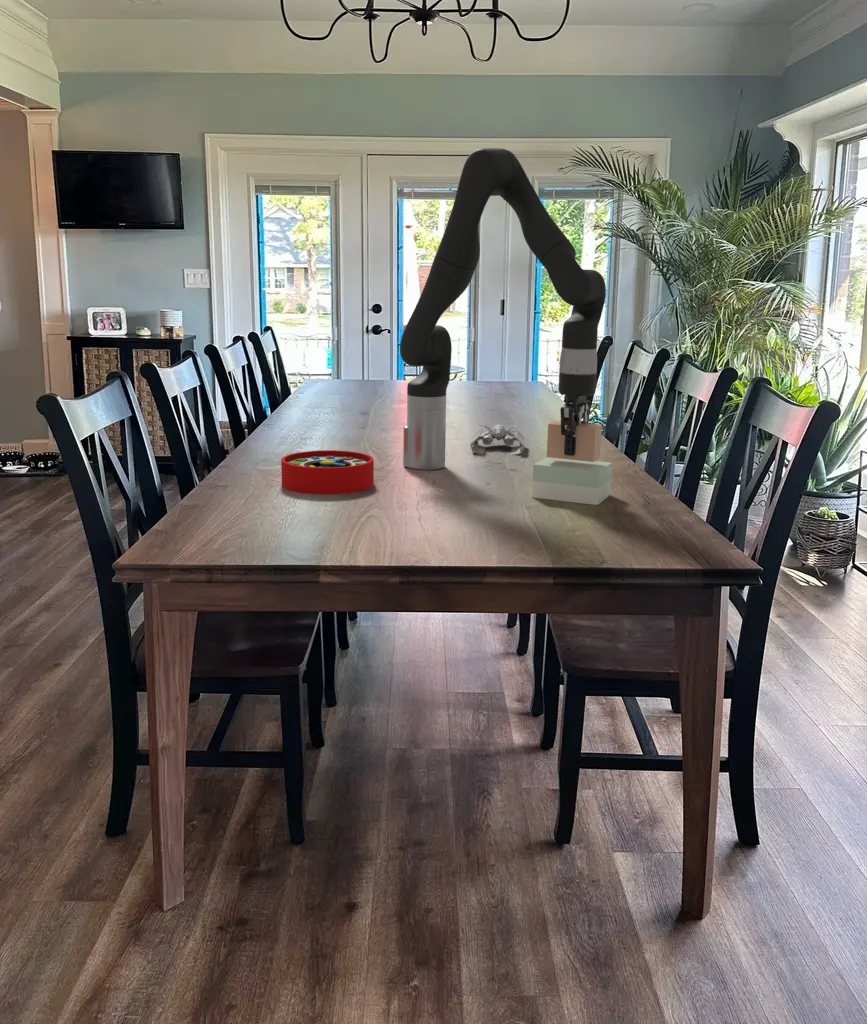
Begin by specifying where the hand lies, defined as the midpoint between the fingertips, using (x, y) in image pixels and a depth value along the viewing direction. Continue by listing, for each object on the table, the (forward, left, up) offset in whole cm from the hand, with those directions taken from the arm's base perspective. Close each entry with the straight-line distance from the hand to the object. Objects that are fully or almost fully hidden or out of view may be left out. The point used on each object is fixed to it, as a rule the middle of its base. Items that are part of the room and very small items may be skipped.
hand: (573, 452), depth 193 cm
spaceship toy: (-33, +43, -10) cm, 55 cm away
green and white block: (0, 0, -9) cm, 9 cm away
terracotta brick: (0, 0, -1) cm, 1 cm away
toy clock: (-51, -14, -10) cm, 54 cm away
